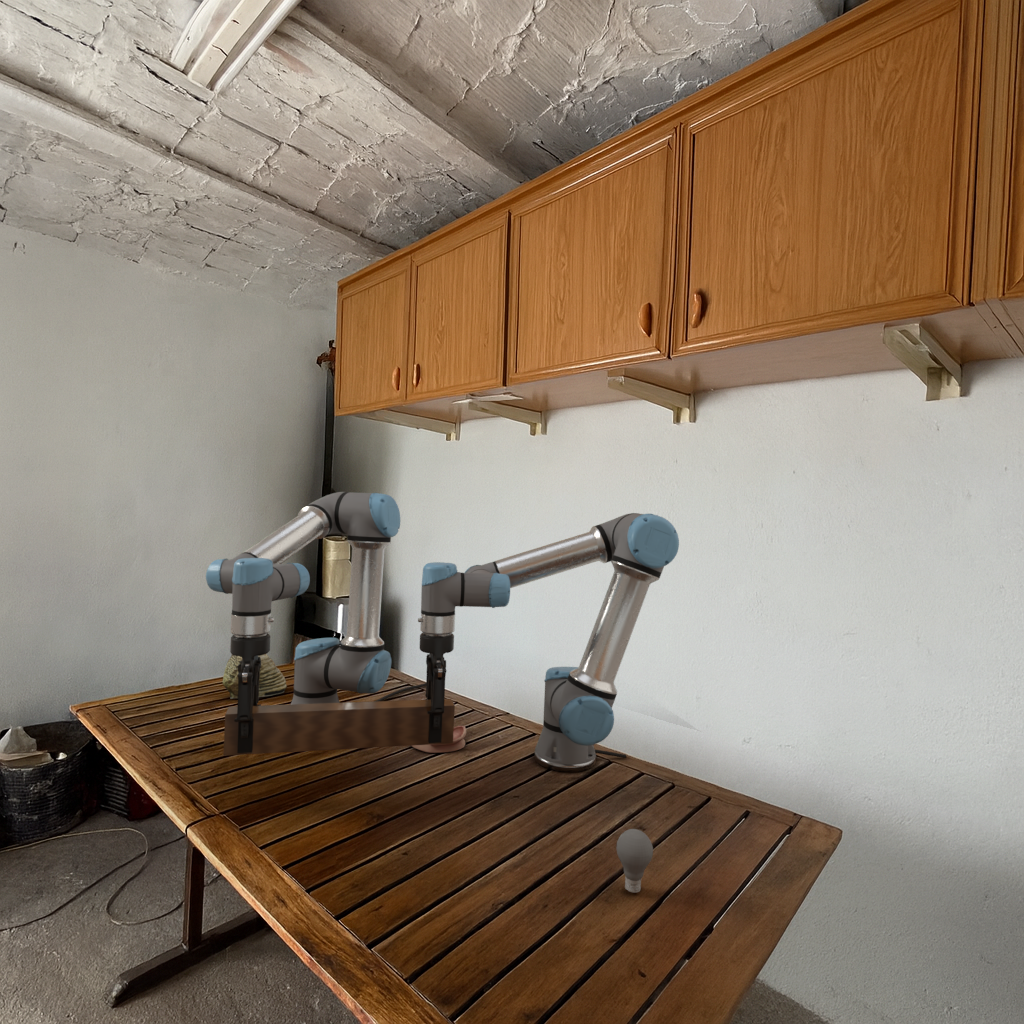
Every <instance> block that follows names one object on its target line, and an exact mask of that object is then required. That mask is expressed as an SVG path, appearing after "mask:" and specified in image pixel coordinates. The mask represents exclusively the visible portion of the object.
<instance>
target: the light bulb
mask: <svg viewBox="0 0 1024 1024" xmlns="http://www.w3.org/2000/svg"><path fill="white" fill-rule="evenodd" d="M615 849H616V854H617V857H618V859H619V861H620V863H621V865H622V867H623V873H624V874H623V875H624V876H625V878H624V888H625V890H627V891H628V892H630V893H634V894H635V893H639V892H640V891H641V889H642V887H641V886H642V879H643V877H644V875H645V871H646V868H647V867H648V866H649V864H650V863H651V861H652V859H653V855H654V847H653V843H652V841H651V838H649V836H648V835H647V834H646V833H645V832H643V831H642V830H641V829H636V828H629V829H627V830H625V831H623V832H622V833H621V834H620V835H619V837H618V839H617V841H616V847H615Z"/></svg>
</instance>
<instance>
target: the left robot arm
mask: <svg viewBox="0 0 1024 1024" xmlns="http://www.w3.org/2000/svg"><path fill="white" fill-rule="evenodd" d="M400 527H401V513H400V508H399V505H398V503H397V501H396V500H395V498H394V497H392V495H389V494H386V493H380V492H379V493H378V492H352V491H351V492H350V491H338V492H333V493H330V494H326V495H325V496H322V497H320V498H318V499H316V500H314V501H312V502H309V503H308V504H307V505H305V506H303V507H302V508H301V509H300V510H299V512H298V513H297V516H295V517H294V518H293V519H291V520H289V521H288V522H287V523H284V524H283V525H282V526H280V527H278V528H277V529H275V530H274V531H273V532H271V533H269V534H268V535H267V536H265V537H263V538H262V539H260V540H259V541H258V542H256V543H254V544H253V545H252V546H250V547H248V548H247V549H245V550H244V551H243V552H241V553H240V554H238V555H236V556H234V557H233V558H231V559H229V558H220V559H219V558H218V559H214V560H213V561H212V562H210V564H209V565H208V566H207V569H206V573H205V580H206V584H207V587H208V588H209V589H210V590H211V591H213V592H218V593H223V594H225V595H227V594H228V595H229V594H230V595H232V596H231V601H232V603H231V604H232V607H231V614H230V617H231V618H230V633H231V634H232V635H231V637H230V649H229V651H230V654H231V655H234V656H240V657H242V661H241V662H240V664H239V665H238V698H237V706H238V708H237V718H236V719H234V722H238V750H237V753H252V747H253V717H252V714H253V706H262V704H259V702H260V697H259V678H260V668H261V658H260V657H258V656H261V655H264V654H267V655H268V653H270V650H271V635H270V632H271V623H274V621H275V618H274V617H271V616H272V602H275V601H280V600H285V599H293V598H295V597H297V596H300V595H303V594H304V593H305V592H306V591H307V589H309V586H310V582H311V576H310V573H309V570H308V568H306V567H305V566H304V565H303V564H302V563H298V562H287V563H285V562H286V561H288V560H289V559H290V558H292V557H293V556H295V554H297V553H298V552H300V551H301V550H303V548H305V547H306V546H308V545H309V544H311V543H312V542H313V541H314V540H322V539H323V538H325V537H327V536H328V535H335V534H342V535H347V538H346V542H347V543H348V544H349V546H351V548H352V550H351V565H350V579H349V595H348V596H349V597H348V610H347V611H348V612H347V625H346V635H345V636H344V638H342V639H341V640H340V639H339V638H337V637H321V638H319V637H318V638H313V639H307V640H304V641H302V642H299V643H298V644H297V645H296V647H295V652H294V653H295V654H294V659H293V660H294V672H293V695H292V696H293V697H292V699H291V702H290V704H289V705H291V704H320V703H341V702H340V699H339V695H338V690H339V691H347V692H351V693H352V692H354V693H357V694H361V695H362V694H369V695H372V694H376V693H378V692H379V691H380V690H381V689H382V688H383V687H384V686H385V684H386V682H387V680H388V678H389V676H390V672H391V668H392V657H391V653H390V652H389V651H387V650H385V641H384V640H383V639H382V638H381V637H380V625H381V612H382V611H381V610H382V597H383V596H382V593H383V580H384V578H383V577H384V564H385V563H384V562H385V549H387V547H388V546H389V545H390V544H391V542H392V541H391V540H392V538H394V537H396V535H397V534H398V533H399V530H400ZM423 687H426V682H424V683H421V684H416V685H412V686H408V687H404V688H400V689H398V690H396V691H393V692H390V693H388V694H386V695H384V696H382V697H381V698H379V699H376V700H374V701H373V702H376V701H385V700H387V699H388V698H391V697H393V696H395V695H398V694H400V693H403V692H407V691H410V690H414V689H418V688H423Z"/></svg>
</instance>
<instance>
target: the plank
mask: <svg viewBox="0 0 1024 1024" xmlns="http://www.w3.org/2000/svg"><path fill="white" fill-rule="evenodd" d="M375 701H376V700H375ZM290 704H291V703H290ZM290 704H271V705H270V704H265V705H263V704H262V705H261V706H253V714H252V717H253V747H252V753H237V750H238V722H234V719H236V718H237V708H238V705H235V706H228V707H227V709H226V712H225V714H224V731H223V733H224V734H223V735H224V736H223V756H241V755H242V756H243V755H260V754H262V755H263V754H279V753H298V752H299V753H300V752H315V751H317V752H318V751H334V750H353V749H372V748H388V747H389V748H390V747H391V748H392V747H407V746H408V747H412V745H429V744H448V743H453V733H454V727H455V712H456V711H455V710H456V709H455V708H456V705H455V703H454V701H453V700H452V698H444V713H442V737H441V743H429V742H428V741H429V714H427V711H430V710H431V700H426V699H410V700H409V699H407V700H405V699H404V700H383V701H376V702H374V701H355V702H354V701H353V702H349V701H347V702H340V703H320V704H291V705H290Z"/></svg>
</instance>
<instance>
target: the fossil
mask: <svg viewBox="0 0 1024 1024" xmlns="http://www.w3.org/2000/svg"><path fill="white" fill-rule="evenodd" d="M258 657H260V658H261V668H260V678H259V698H264V697H271V696H275V695H281V694H284V693H285V691H286V689H287V687H288V686H287V680H286V678H285V676H284V674H283V673H282V672H281V669H279V668H278V667H277V665H276V663H275V662H274V660H273V659H272V658H271V657H270V656H269V655H268V653H267V654H264V655H261V656H258ZM241 661H242V657H240V656H234V655H232V654H231V656H230V657H229V659H228V660H227V663H226V666H225V668H224V671H223V675H222V676H223V677H222V685H223V687H224V688H225V690H226V691H228V693H229V698H230V699H238V665H239V664H240V662H241Z"/></svg>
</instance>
